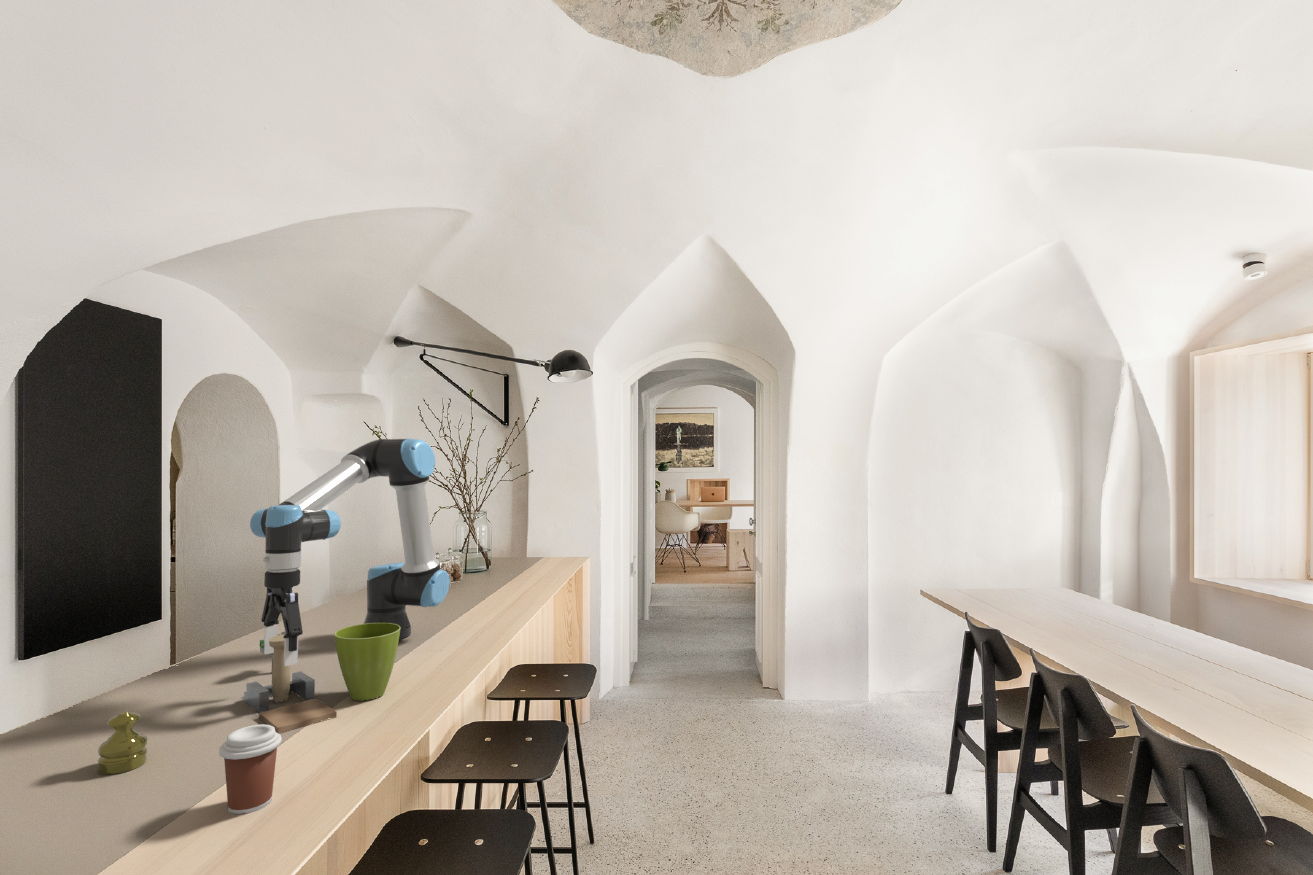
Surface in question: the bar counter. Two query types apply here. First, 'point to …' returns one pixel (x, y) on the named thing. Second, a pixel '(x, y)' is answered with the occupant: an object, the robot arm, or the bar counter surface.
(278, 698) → the handle
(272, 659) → the mechanical component
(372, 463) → the robot arm
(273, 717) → the walnut board
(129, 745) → the olive glossy bulbous piece
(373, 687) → the flower pot
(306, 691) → the vise
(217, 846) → the bar counter surface
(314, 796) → the bar counter surface
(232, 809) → the coffee cup
